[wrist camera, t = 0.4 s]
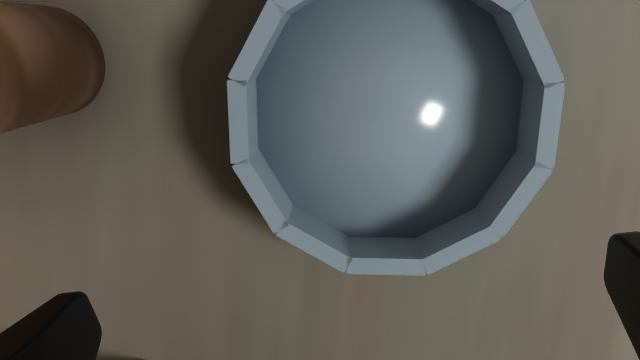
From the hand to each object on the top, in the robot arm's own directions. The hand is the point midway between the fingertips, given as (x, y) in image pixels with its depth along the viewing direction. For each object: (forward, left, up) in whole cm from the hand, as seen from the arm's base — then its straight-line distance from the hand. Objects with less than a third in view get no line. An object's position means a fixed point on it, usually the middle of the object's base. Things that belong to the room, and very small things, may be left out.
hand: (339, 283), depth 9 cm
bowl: (+1, -2, -14) cm, 14 cm away
